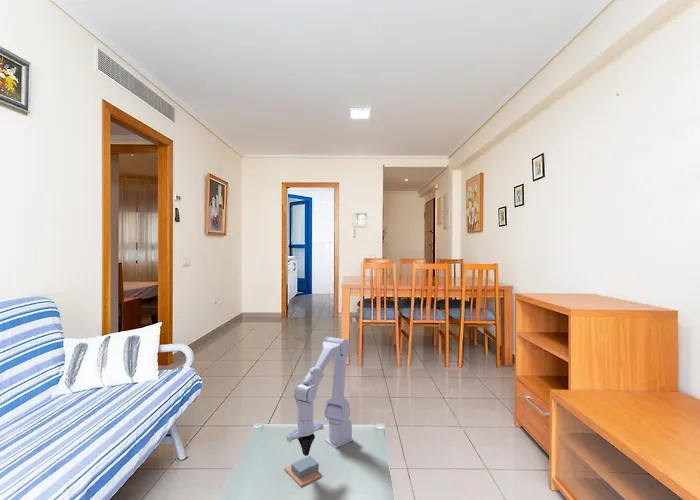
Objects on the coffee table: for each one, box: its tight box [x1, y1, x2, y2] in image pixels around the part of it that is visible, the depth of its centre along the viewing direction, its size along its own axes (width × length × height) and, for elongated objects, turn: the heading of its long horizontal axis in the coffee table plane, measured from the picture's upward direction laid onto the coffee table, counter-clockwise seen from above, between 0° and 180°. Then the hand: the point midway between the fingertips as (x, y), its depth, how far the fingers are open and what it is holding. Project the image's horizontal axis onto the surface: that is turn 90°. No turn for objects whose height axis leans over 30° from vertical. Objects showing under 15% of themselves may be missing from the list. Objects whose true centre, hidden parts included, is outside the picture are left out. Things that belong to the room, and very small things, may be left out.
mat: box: [283, 464, 321, 487], centre depth 131 cm, size 8×12×1 cm, turn 38°
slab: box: [290, 455, 320, 479], centre depth 131 cm, size 2×6×8 cm
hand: (305, 454), depth 132 cm, fingers closed
